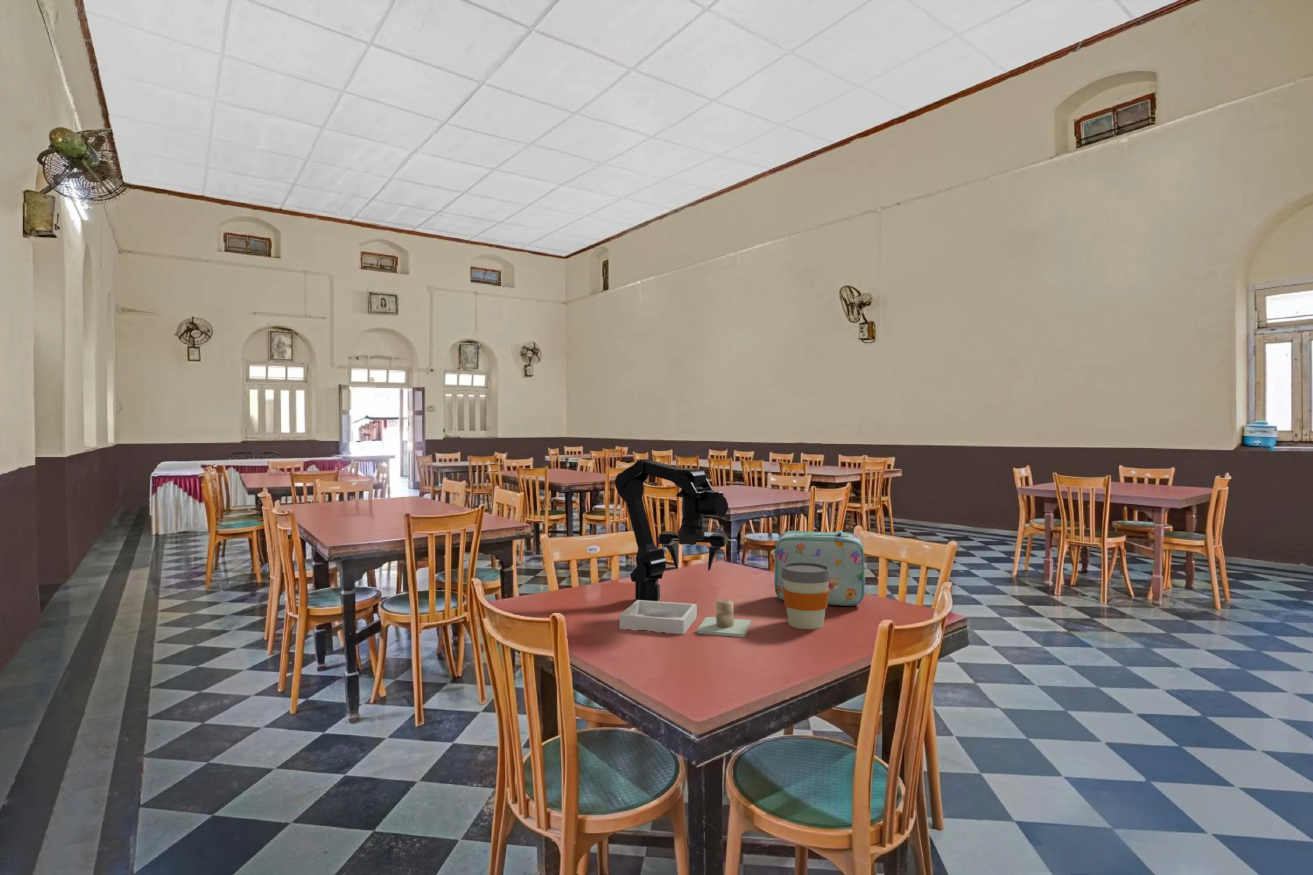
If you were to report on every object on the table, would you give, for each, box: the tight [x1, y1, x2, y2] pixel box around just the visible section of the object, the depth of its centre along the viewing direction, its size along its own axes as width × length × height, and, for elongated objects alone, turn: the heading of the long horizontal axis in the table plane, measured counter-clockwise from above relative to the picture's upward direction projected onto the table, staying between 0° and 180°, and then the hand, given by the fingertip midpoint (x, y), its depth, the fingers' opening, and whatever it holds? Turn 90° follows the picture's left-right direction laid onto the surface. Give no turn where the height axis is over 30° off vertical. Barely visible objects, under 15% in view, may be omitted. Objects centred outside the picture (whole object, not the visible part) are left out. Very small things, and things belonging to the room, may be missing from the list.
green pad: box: [696, 616, 752, 638], centre depth 171 cm, size 12×12×1 cm
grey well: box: [619, 600, 698, 635], centre depth 176 cm, size 17×15×4 cm
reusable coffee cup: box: [781, 562, 830, 630], centre depth 174 cm, size 13×13×15 cm
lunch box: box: [773, 529, 869, 607], centre depth 195 cm, size 27×10×21 cm, turn 74°
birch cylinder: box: [715, 599, 734, 628], centre depth 171 cm, size 4×4×6 cm
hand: (693, 569), depth 185 cm, fingers open, 9 cm apart
